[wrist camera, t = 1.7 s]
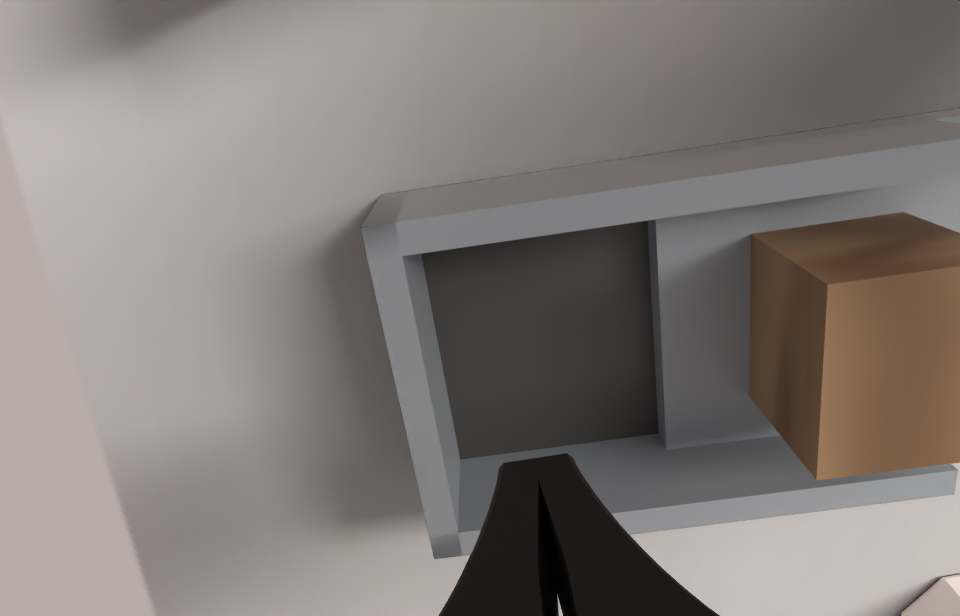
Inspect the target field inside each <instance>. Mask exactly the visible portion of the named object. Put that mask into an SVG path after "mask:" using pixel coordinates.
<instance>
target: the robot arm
mask: <svg viewBox="0 0 960 616" xmlns="http://www.w3.org/2000/svg"><path fill="white" fill-rule="evenodd" d="M557 594H558V598H559V602H560V605H561V609H562V613H563V616H719V615H718V614H717V613H715V612H714V611H712V610H711V609H710V608H708V607H707V606H706V605H704V604H703V603H702V602H701V601H700V600H698V599H697V598H696V597H695V596H693V595H692V594H691V593H690V592H689V591H687V590H686V589H685V588H684V587H683V586H681V585H680V584H679V583H678V582H677V581H676V580H675V579H674V578H672V577H671V576H670V575H669V574H668V573H667V572H666V571H665V570H664V569H662V568H661V567H660V566H659V565H658V564H657V563H656V562H655V561H654V560H653V559H652V558H651V557H650V556H649V555H648V554H647V553H646V552H645V551H644V550H643V549H642V548H641V547H640V546H639V545H638V544H637V543H636V541H635V540H634V539H633V538H632V537H631V536H630V535H629V534H628V533H627V532H626V531H625V529H624V528H623V527H622V526H621V525H620V524H619V523H618V521H617V520H616V519H615V518H614V517H613V515H612V514H611V513H610V512H609V510H608V509H607V508H606V507H605V506H604V504H603V503H602V502H601V500H600V499H599V498H598V497H597V495H596V494H595V492H594V491H593V490H592V488H591V487H590V485H589V484H588V483H587V481H586V479H585V478H584V476H583V475H582V473H581V472H580V470H579V468H578V466H577V465H576V463H575V461H574V458H573V457H572V456H570V455H569V454H567V453H565V454H558V455H552V456H545V457H538V458H532V459H525V460H519V461H512V462H506V463H503V464H502V465H501V467H500V468H499V470H498V477H497V482H496V486H495V490H494V494H493V497H492V501H491V504H490V507H489V510H488V513H487V516H486V518H485V521H484V524H483V526H482V529H481V532H480V534H479V537H478V539H477V542H476V544H475V546H474V549H473V551H472V553H471V555H470V557H469V559H468V562H467V564H466V566H465V568H464V570H463V572H462V575H461V577H460V579H459V580H458V582H457V584H456V586H455V588H454V590H453V592H452V594H451V595H450V597H449V599H448V601H447V603H446V604H445V606H444V608H443V609H442V611H441V613H440V614H439V616H559V614H558V598H557Z"/></svg>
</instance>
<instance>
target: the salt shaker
mask: <svg viewBox="0 0 960 616" xmlns="http://www.w3.org/2000/svg"><path fill="white" fill-rule="evenodd" d="M901 616H960V574H958V575H952V576H946V577H942V578H941V579H940V580H938V581H937V582H936V583H935V584H934V585H933V586H932V587H930V588H929V589H928V590H927V591H926V592H925V593H923V594H922V595H921V596H920V597H919V598H918V599H917V600H915V601H914V602H913V603H912V604H911V605H910V606H908V607H907V608H906V609H905V610H904V611H903V612H901Z"/></svg>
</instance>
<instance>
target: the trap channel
mask: <svg viewBox="0 0 960 616" xmlns="http://www.w3.org/2000/svg"><path fill="white" fill-rule="evenodd" d="M899 212H905V213H908V214H911V215H913V216H916V217H919V218H921V219H924V220H927V221H929V222H932V223H935V224H937V225H940V226H943V227H945V228H948V229H951V230H953V231H956V232H959V233H960V108H956V109H950V110H943V111H937V112H930V113H923V114H917V115H910V116H903V117H897V118H890V119H883V120H877V121H870V122H863V123H857V124H850V125H843V126H837V127H830V128H823V129H817V130H810V131H803V132H797V133H790V134H783V135H777V136H770V137H763V138H757V139H750V140H743V141H737V142H730V143H723V144H717V145H710V146H703V147H697V148H690V149H683V150H677V151H670V152H663V153H657V154H650V155H644V156H637V157H630V158H624V159H617V160H610V161H604V162H597V163H590V164H584V165H577V166H570V167H564V168H557V169H550V170H544V171H537V172H530V173H524V174H517V175H510V176H504V177H497V178H490V179H484V180H477V181H470V182H464V183H457V184H450V185H444V186H437V187H430V188H424V189H417V190H410V191H404V192H397V193H390V194H384V195H381V196H380V197H379V199H378V200H377V202H376V203H375V205H374V207H373V208H372V210H371V211H370V213H369V215H368V216H367V218H366V219H365V221H364V222H363V224H362V226H361V227H360V228H361V233H362V237H363V242H364V246H365V251H366V255H367V260H368V264H369V269H370V273H371V278H372V282H373V287H374V291H375V296H376V300H377V305H378V309H379V314H380V318H381V323H382V327H383V332H384V336H385V341H386V345H387V350H388V354H389V359H390V363H391V367H392V372H393V376H394V381H395V385H396V390H397V394H398V399H399V403H400V408H401V412H402V417H403V421H404V426H405V430H406V435H407V439H408V444H409V448H410V453H411V457H412V462H413V466H414V471H415V475H416V480H417V484H418V489H419V493H420V498H421V502H422V507H423V511H424V516H425V520H426V524H427V529H428V533H429V538H430V542H431V547H432V551H433V556H434V559H439V558H447V557H455V556H463V555H471V553H472V551H473V549H474V546H475V544H476V542H477V539H478V537H479V534H480V532H481V529H482V526H483V524H484V521H485V518H486V516H487V513H488V510H489V507H490V504H491V501H492V497H493V494H494V490H495V486H496V482H497V477H498V470H499V468H500V467H501V465H502V464H503V463H506V462H512V461H519V460H525V459H532V458H538V457H545V456H552V455H558V454H565V453H567V454H569V455H570V456H572V457H573V458H574V461H575V463H576V465H577V466H578V468H579V470H580V472H581V473H582V475H583V476H584V478H585V479H586V481H587V483H588V484H589V485H590V487H591V488H592V490H593V491H594V492H595V494H596V495H597V497H598V498H599V499H600V500H601V502H602V503H603V504H604V506H605V507H606V508H607V509H608V510H609V512H610V513H611V514H612V515H613V517H614V518H615V519H616V520H617V521H618V523H619V524H620V525H621V526H622V527H623V528H624V529H625V531H626V532H627V533H628V534H629V535H632V534H640V533H648V532H656V531H664V530H672V529H680V528H688V527H696V526H704V525H712V524H720V523H728V522H737V521H745V520H753V519H761V518H769V517H777V516H785V515H793V514H801V513H809V512H817V511H825V510H833V509H841V508H849V507H857V506H865V505H873V504H881V503H889V502H897V501H906V500H914V499H922V498H930V497H938V496H946V495H954V491H955V485H956V478H957V472H958V470H957V469H956V468H955V467H954V466H953V465H951V464H943V465H935V466H927V467H920V468H912V469H904V470H896V471H888V472H880V473H872V474H864V475H856V476H848V477H840V478H832V479H825V480H816V479H815V478H814V477H813V475H812V474H811V473H810V472H809V470H808V469H807V468H806V467H805V465H804V464H803V463H802V462H801V460H800V459H799V458H798V457H797V455H796V454H795V453H794V452H793V450H792V449H791V448H790V447H789V445H788V444H787V443H786V442H785V440H784V439H783V438H782V437H781V435H780V434H779V433H778V432H777V430H776V429H775V428H774V427H773V425H772V424H771V423H770V422H769V420H768V419H767V418H766V417H765V415H764V414H763V413H762V412H761V410H760V409H759V408H758V407H757V405H756V404H755V403H754V402H753V400H752V399H751V398H750V397H749V376H750V274H751V234H753V233H760V232H767V231H774V230H781V229H788V228H795V227H802V226H809V225H816V224H823V223H830V222H837V221H844V220H851V219H858V218H865V217H872V216H879V215H886V214H893V213H899Z"/></svg>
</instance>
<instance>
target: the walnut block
mask: <svg viewBox="0 0 960 616" xmlns="http://www.w3.org/2000/svg"><path fill="white" fill-rule="evenodd" d="M749 397H750V398H751V399H752V400H753V402H754V403H755V404H756V405H757V407H758V408H759V409H760V410H761V412H762V413H763V414H764V415H765V417H766V418H767V419H768V420H769V422H770V423H771V424H772V425H773V427H774V428H775V429H776V430H777V432H778V433H779V434H780V435H781V437H782V438H783V439H784V440H785V442H786V443H787V444H788V445H789V447H790V448H791V449H792V450H793V452H794V453H795V454H796V455H797V457H798V458H799V459H800V460H801V462H802V463H803V464H804V465H805V467H806V468H807V469H808V470H809V472H810V473H811V474H812V475H813V477H814V478H815V479H816V480H825V479H832V478H840V477H848V476H856V475H864V474H872V473H880V472H888V471H896V470H904V469H912V468H920V467H927V466H935V465H943V464H951V463H959V462H960V233H959V232H956V231H953V230H951V229H948V228H945V227H943V226H940V225H937V224H935V223H932V222H929V221H927V220H924V219H921V218H919V217H916V216H913V215H911V214H908V213H905V212H899V213H893V214H886V215H879V216H872V217H865V218H858V219H851V220H844V221H837V222H830V223H823V224H816V225H809V226H802V227H795V228H788V229H781V230H774V231H767V232H760V233H753V234H751V274H750V376H749Z"/></svg>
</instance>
